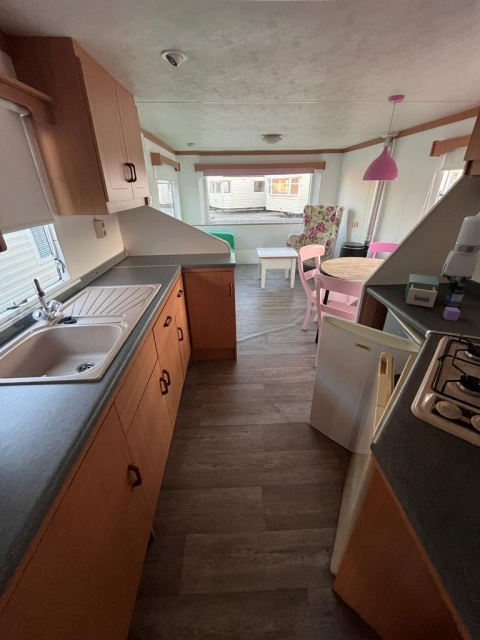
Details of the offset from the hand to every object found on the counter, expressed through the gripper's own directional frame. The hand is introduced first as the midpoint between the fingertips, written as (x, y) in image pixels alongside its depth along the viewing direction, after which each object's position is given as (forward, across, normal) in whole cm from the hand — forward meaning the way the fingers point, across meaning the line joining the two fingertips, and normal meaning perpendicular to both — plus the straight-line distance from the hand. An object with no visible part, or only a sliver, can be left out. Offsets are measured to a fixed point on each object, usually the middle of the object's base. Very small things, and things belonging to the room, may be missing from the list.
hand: (450, 290), depth 117 cm
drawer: (+11, +8, -11) cm, 18 cm away
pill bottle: (+12, -7, -14) cm, 20 cm away
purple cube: (+12, -2, +2) cm, 13 cm away
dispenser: (+12, +6, -23) cm, 27 cm away
